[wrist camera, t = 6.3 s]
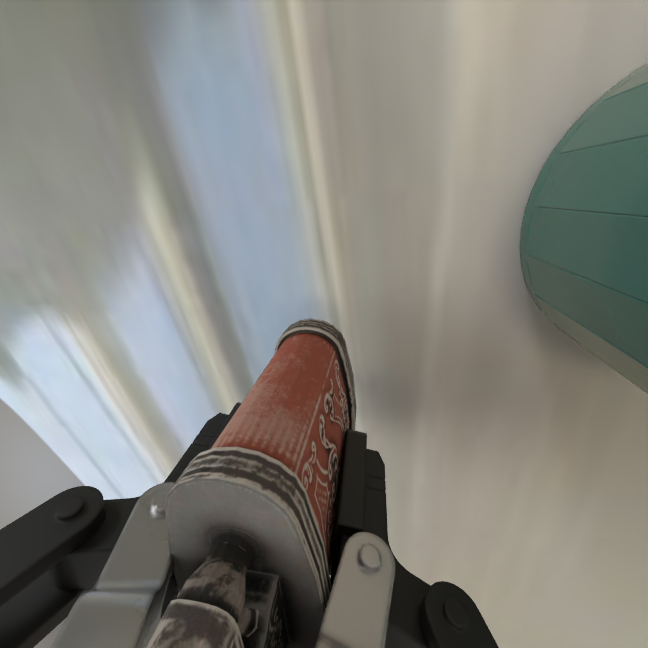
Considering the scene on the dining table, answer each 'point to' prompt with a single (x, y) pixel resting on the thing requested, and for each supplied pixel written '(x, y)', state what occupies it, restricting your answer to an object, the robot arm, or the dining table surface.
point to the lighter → (264, 505)
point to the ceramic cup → (596, 231)
